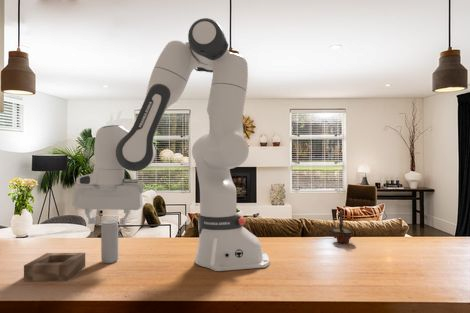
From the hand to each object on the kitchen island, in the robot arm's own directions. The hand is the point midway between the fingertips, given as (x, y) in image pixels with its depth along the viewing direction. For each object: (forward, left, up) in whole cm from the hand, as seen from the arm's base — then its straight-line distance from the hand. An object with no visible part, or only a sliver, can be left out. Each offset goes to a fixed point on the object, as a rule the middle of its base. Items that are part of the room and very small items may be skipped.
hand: (107, 224), depth 101 cm
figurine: (-79, -19, -12) cm, 82 cm away
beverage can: (-1, 0, -12) cm, 12 cm away
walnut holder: (+10, +10, -11) cm, 18 cm away
